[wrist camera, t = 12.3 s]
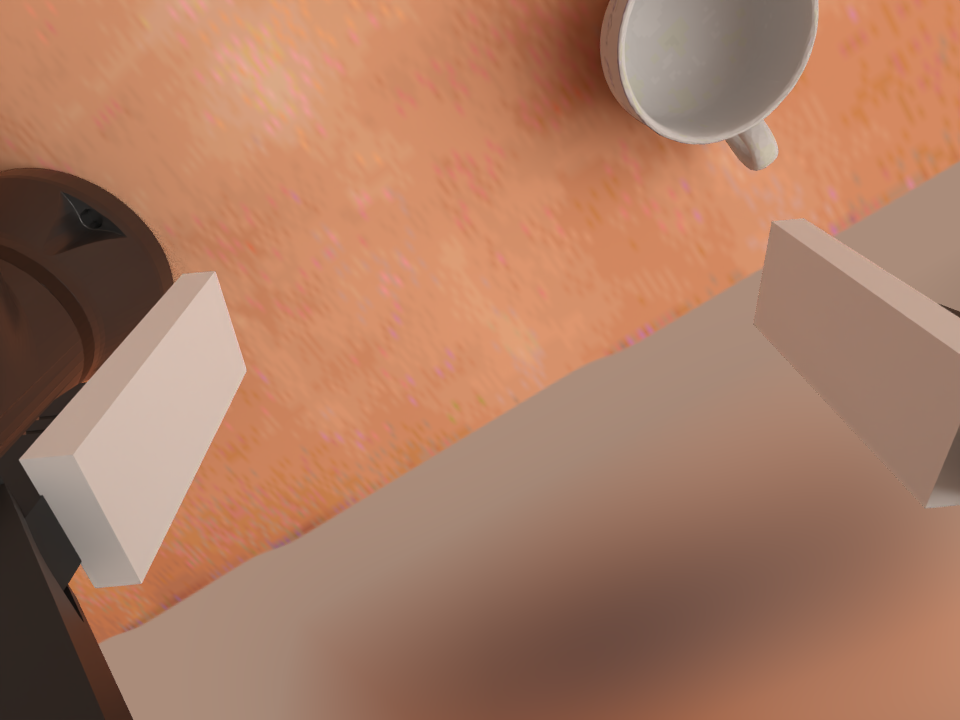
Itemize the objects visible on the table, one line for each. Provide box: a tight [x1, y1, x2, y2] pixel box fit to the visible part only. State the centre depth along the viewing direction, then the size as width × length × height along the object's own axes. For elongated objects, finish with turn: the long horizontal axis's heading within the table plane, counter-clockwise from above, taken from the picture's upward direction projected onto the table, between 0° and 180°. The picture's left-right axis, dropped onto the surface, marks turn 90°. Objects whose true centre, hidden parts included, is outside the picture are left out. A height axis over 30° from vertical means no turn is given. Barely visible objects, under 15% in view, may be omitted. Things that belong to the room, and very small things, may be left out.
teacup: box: [600, 0, 818, 171], centre depth 37 cm, size 14×11×8 cm
